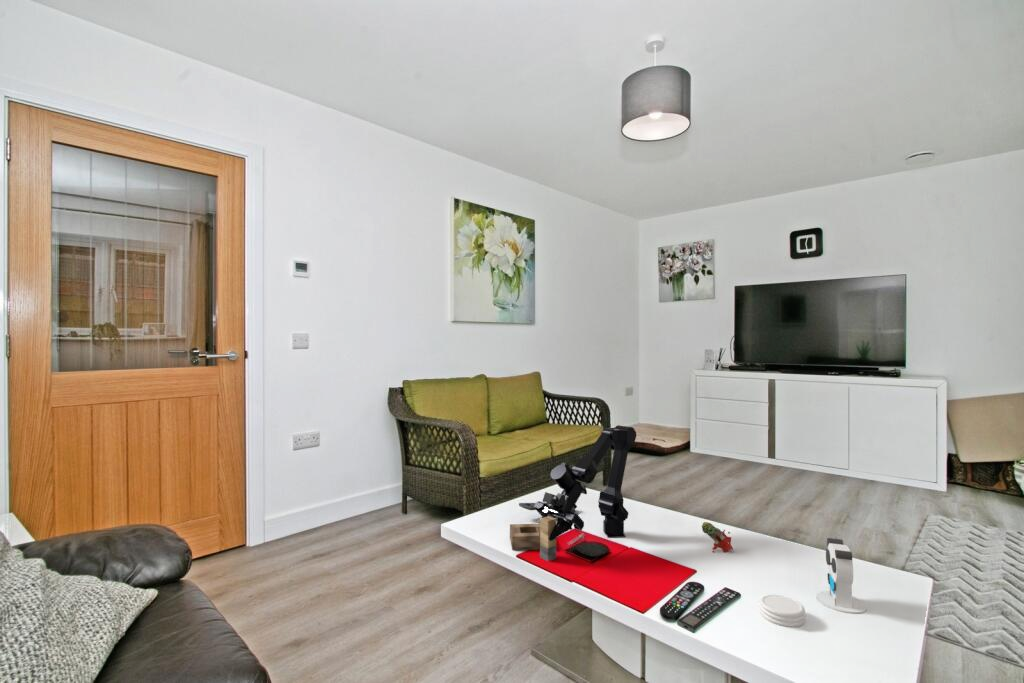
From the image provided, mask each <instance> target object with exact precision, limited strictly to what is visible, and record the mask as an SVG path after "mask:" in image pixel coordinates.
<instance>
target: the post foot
mask: <svg viewBox="0 0 1024 683" xmlns="http://www.w3.org/2000/svg"><path fill="white" fill-rule="evenodd" d="M539 534H540V523H515V524H509V541H510V545H511V550H512V551H524V550H525V551H527V550H529V551H531V550H540V536H539Z"/></svg>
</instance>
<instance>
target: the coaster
mask: <svg viewBox="0 0 1024 683" xmlns="http://www.w3.org/2000/svg"><path fill="white" fill-rule="evenodd" d="M805 613H806V609H805V607H804V606H803V605H802V604H801V603H800V602H799V601H797V600H795V599H793V598H792V597H788V596H784V595H779V594H767V595H763V596H761V597H760V598H759V614H760V615H761V617H763V618H764V620H766V621H768V622H770V623H771V624H773V625H774V624H775V625H778V626H781V627H785V628H800V627H801V626H803V625H804V624H805V623H806V614H805Z"/></svg>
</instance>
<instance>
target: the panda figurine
mask: <svg viewBox="0 0 1024 683" xmlns="http://www.w3.org/2000/svg"><path fill="white" fill-rule="evenodd" d="M826 545H827V546H826V547H827V548H826V549H825V562H826V565H827V566H828V572H827V582H828V585H829V590H823V591H818V592H817V593H816V594H815V599H816V601H817V602H818V603H820V604H821V605H822V606H823V607H826V608H828V609H831V610H833V611H836V612H840V613H845V614H852V615H853V614H859V615H860V614H864V613H866V612H867V610H868V606H867V604H866V602H864V601H862V600H861V599H860V598H858V597H856V596H853V590H852V589H853V588H852V587H853V583H854V564H853V563H854V562H853V552H852V551H851V550H850V548H849V547H848V545H847V544H844V540H843V539H839V538H832V537H831V538H830V537H827V538H826Z"/></svg>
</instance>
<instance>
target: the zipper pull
mask: <svg viewBox="0 0 1024 683" xmlns="http://www.w3.org/2000/svg"><path fill="white" fill-rule="evenodd" d="M545 503H546V504H547V505H548V506H549V503H547V502H545ZM535 504H536V502H519V503H518V506H519V507H520V508H523V509H526V510H528V511H537V510H536V509H535V508H534V505H535ZM549 507H550V506H549ZM550 509H552V507H550ZM571 512H572V513H575V514H576V509H575V508H573V509H572V511H571ZM555 514H556V513H555ZM553 518H555V519H557V517H554V516H553Z"/></svg>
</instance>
